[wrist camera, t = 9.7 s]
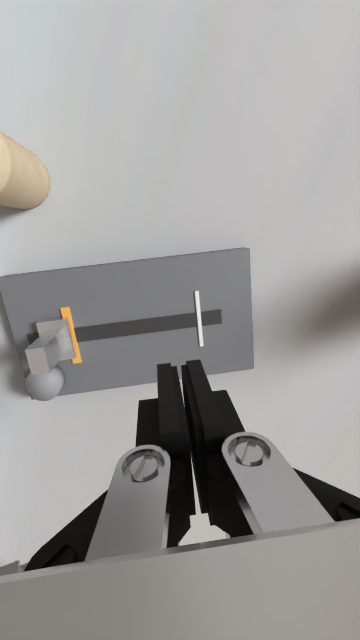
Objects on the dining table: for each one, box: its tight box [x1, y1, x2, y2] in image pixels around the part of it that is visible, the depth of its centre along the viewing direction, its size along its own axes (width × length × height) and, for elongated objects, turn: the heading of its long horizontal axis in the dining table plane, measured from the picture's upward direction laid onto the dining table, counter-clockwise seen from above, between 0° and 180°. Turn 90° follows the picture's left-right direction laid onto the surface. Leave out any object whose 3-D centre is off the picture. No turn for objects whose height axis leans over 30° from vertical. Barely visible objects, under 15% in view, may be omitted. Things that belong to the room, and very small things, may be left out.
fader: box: [25, 317, 77, 375], centre depth 28 cm, size 4×3×6 cm
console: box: [0, 248, 254, 401], centre depth 32 cm, size 14×26×4 cm, turn 96°
